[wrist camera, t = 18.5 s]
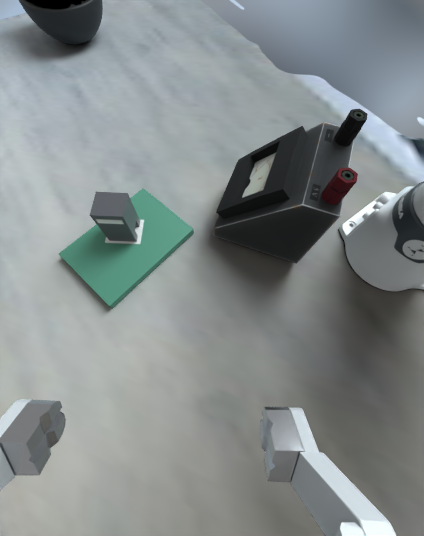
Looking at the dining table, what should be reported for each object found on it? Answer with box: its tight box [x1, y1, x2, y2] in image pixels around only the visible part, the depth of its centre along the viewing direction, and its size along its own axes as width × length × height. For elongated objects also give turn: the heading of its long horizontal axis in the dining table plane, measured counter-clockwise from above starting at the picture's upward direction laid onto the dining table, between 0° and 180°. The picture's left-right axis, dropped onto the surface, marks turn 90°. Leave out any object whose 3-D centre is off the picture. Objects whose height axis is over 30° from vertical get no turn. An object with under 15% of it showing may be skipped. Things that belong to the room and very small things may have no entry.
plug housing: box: [90, 192, 140, 242], centre depth 41 cm, size 5×4×8 cm
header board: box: [59, 189, 194, 308], centre depth 44 cm, size 20×14×2 cm
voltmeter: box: [213, 109, 367, 263], centre depth 39 cm, size 16×16×20 cm
